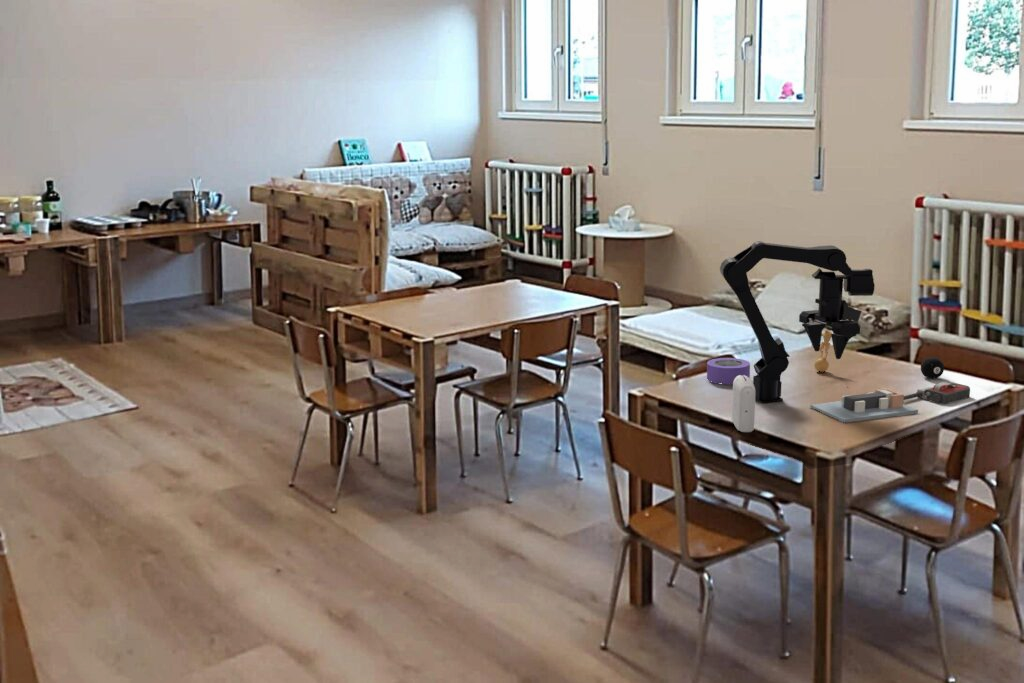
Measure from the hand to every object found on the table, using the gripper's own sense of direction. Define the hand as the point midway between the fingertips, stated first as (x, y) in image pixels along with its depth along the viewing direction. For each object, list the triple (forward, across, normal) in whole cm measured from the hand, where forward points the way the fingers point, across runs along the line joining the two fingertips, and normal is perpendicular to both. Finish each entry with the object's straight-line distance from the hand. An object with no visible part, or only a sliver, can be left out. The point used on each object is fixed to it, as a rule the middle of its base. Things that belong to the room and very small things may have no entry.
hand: (827, 355), depth 293 cm
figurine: (+12, +25, -17) cm, 33 cm away
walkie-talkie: (+12, -10, -27) cm, 31 cm away
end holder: (+12, -12, -11) cm, 20 cm away
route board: (+12, -12, -3) cm, 17 cm away
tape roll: (+12, +28, +13) cm, 33 cm away
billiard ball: (+12, +7, -40) cm, 42 cm away
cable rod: (+11, -12, -4) cm, 17 cm away
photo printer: (+12, -12, +32) cm, 36 cm away
